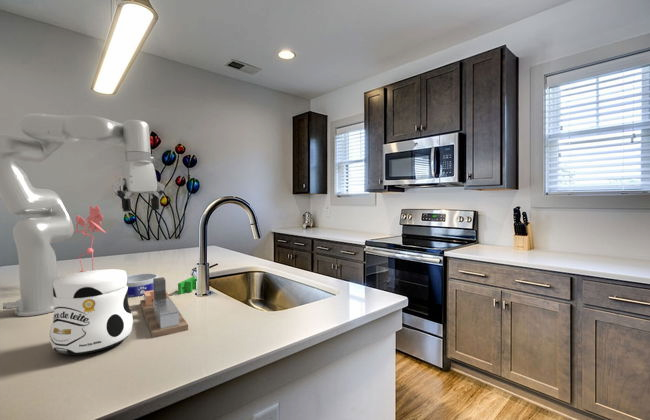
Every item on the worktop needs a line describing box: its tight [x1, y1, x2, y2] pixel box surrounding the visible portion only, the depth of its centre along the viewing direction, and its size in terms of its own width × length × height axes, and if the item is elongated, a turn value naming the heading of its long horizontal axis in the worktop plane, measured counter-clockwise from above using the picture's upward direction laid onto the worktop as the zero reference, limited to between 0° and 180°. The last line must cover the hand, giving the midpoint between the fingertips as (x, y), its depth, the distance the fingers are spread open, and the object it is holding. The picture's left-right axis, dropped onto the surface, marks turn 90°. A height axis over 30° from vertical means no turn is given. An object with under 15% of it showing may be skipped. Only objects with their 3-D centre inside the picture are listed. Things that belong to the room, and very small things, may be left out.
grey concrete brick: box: [153, 297, 180, 329], centre depth 97 cm, size 15×5×4 cm, turn 34°
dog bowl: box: [127, 272, 159, 299], centre depth 131 cm, size 15×15×6 cm
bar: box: [153, 277, 167, 301], centre depth 100 cm, size 20×3×10 cm, turn 34°
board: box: [139, 295, 189, 339], centre depth 104 cm, size 34×9×2 cm, turn 34°
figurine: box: [74, 204, 107, 272], centre depth 146 cm, size 15×26×35 cm, turn 58°
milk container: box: [49, 268, 134, 356], centre depth 84 cm, size 17×17×18 cm
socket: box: [143, 290, 169, 305], centre depth 115 cm, size 7×7×3 cm
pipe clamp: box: [177, 276, 198, 296], centre depth 133 cm, size 11×4×5 cm, turn 173°
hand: (141, 210), depth 108 cm, fingers open, 9 cm apart
